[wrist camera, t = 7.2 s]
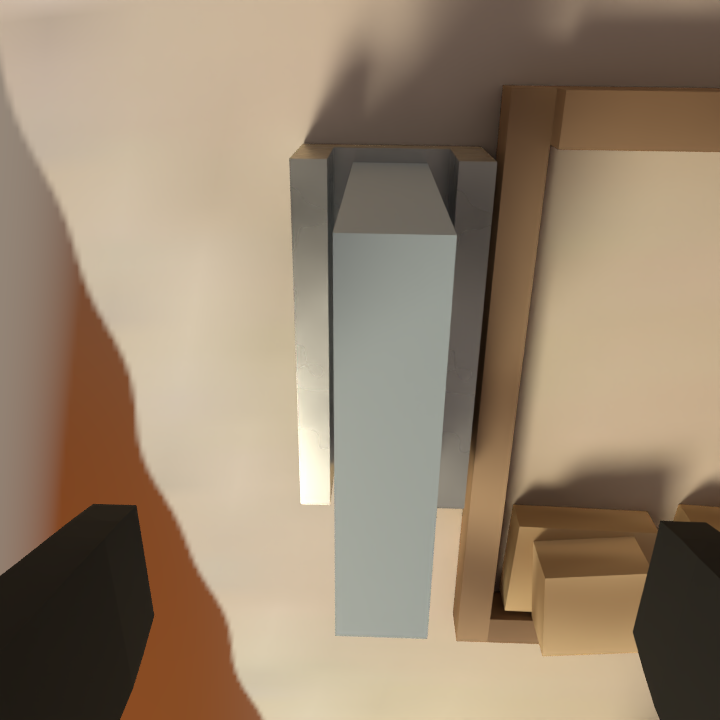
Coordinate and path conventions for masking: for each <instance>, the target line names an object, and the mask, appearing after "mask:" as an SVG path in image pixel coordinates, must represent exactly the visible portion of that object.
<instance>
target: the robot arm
mask: <svg viewBox="0 0 720 720" xmlns="http://www.w3.org/2000/svg"><path fill="white" fill-rule="evenodd" d="M153 618H154V612H153V606H152V599H151V593H150V587H149V581H148V575H147V568H146V562H145V556H144V550H143V544H142V538H141V531H140V525H139V519H138V513H137V506H136V505H106V504H93V505H92V506H90V507H89V508H87V509H86V510H84V511H83V512H82V513H80V514H79V515H78V516H76V517H75V518H74V519H72V520H71V521H70V522H69V523H67V524H66V525H65V526H64V527H62V528H61V529H59V530H58V531H57V532H56V533H54V534H53V535H52V536H51V537H49V538H48V539H47V540H46V541H44V542H43V543H42V544H40V545H39V546H38V547H37V548H36V549H34V550H33V551H32V552H30V553H29V554H28V555H26V556H25V557H24V558H23V559H21V561H19V562H18V563H16V564H15V565H14V566H12V567H11V568H10V569H9V570H7V571H6V572H5V573H3V574H2V575H1V576H0V720H120V718H121V716H122V713H123V711H124V709H125V706H126V704H127V701H128V699H129V696H130V694H131V692H132V689H133V686H134V683H135V679H136V676H137V673H138V670H139V666H140V664H141V660H142V657H143V654H144V650H145V647H146V643H147V639H148V636H149V632H150V629H151V625H152V622H153ZM633 635H634V639H635V642H636V646H637V649H638V653H639V657H640V660H641V664H642V667H643V671H644V674H645V677H646V681H647V684H648V687H649V690H650V693H651V697H652V700H653V703H654V706H655V709H656V711H657V714H658V716H659V719H660V720H720V532H719V531H718V530H717V529H715V528H714V527H712V526H711V525H709V524H708V523H706V522H682V521H660V525H659V529H658V533H657V537H656V541H655V545H654V549H653V553H652V556H651V560H650V564H649V568H648V572H647V576H646V580H645V584H644V588H643V592H642V596H641V600H640V604H639V608H638V612H637V616H636V620H635V624H634V628H633Z"/></svg>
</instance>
